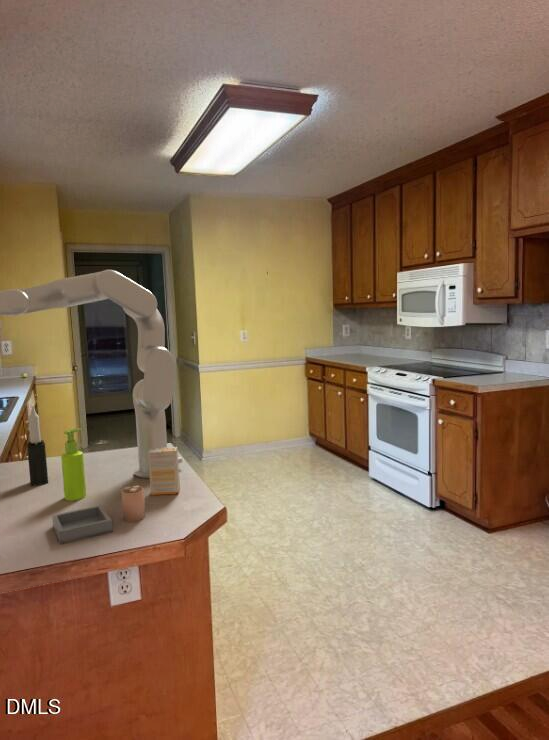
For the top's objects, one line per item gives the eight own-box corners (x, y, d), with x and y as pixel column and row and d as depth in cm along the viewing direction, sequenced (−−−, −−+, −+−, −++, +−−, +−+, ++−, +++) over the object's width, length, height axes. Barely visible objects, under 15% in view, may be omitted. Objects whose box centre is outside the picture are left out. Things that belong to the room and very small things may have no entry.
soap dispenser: (93, 493, 155) (88, 427, 152) (75, 501, 148) (69, 433, 146) (78, 491, 157) (73, 426, 155) (60, 499, 151) (54, 431, 149)
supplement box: (180, 488, 156) (178, 446, 155) (178, 494, 152) (176, 450, 150) (152, 490, 156) (150, 447, 155) (150, 495, 151) (147, 452, 150)
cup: (142, 511, 139) (140, 482, 138) (148, 518, 134) (146, 488, 133) (121, 516, 136) (118, 487, 135) (126, 523, 132) (124, 493, 131)
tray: (101, 516, 137) (101, 505, 137) (112, 531, 127) (111, 520, 126) (53, 526, 131) (52, 515, 131) (59, 544, 121) (58, 531, 120)
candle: (31, 486, 164) (24, 408, 161) (30, 481, 168) (23, 405, 165) (48, 483, 166) (42, 406, 163) (47, 479, 170) (40, 403, 168)
